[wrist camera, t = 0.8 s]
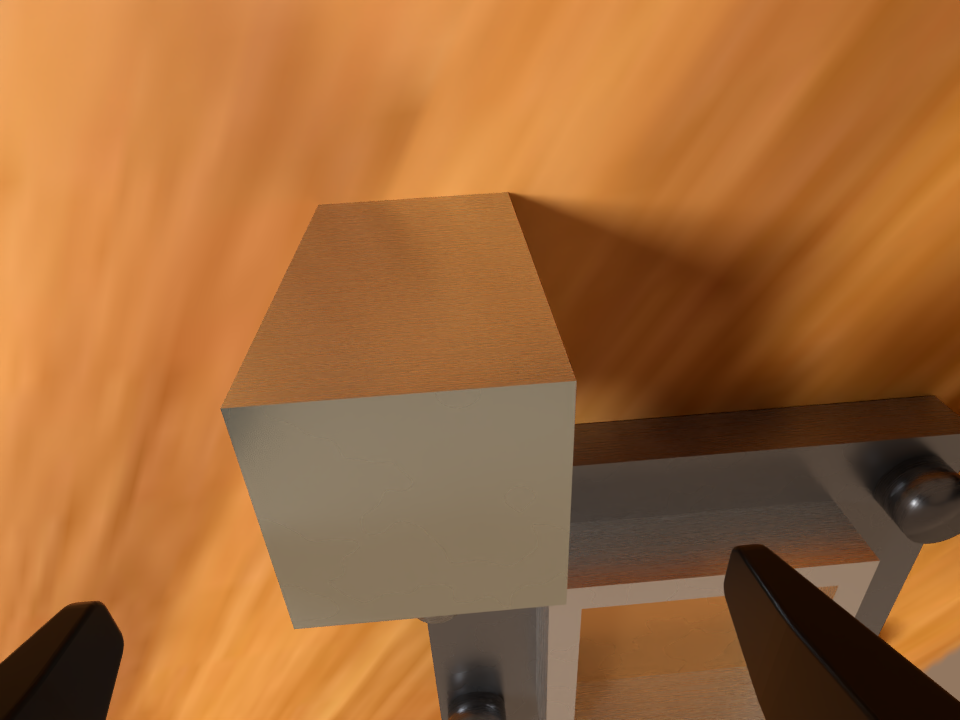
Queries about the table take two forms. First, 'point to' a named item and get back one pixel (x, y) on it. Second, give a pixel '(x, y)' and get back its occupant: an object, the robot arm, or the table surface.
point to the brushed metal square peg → (409, 417)
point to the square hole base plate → (706, 556)
